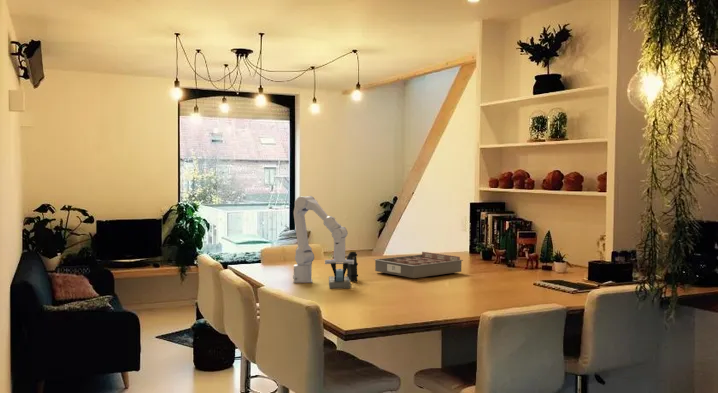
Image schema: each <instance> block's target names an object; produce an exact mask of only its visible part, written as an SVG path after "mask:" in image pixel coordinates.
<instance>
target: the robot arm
mask: <svg viewBox="0 0 718 393" xmlns="http://www.w3.org/2000/svg"><path fill="white" fill-rule="evenodd" d="M308 211H312V212H314V213H315V214H316V215H317V216H318V217H319V218H320V219H321V220H322V221H323V225H324V226H325V227H326V229H328V231H329V232H330V233H331V237H332V238H333V259H324V265H330V266H331V268H332V272H333V276H335V279H336V269H337V265H342V269H343V279H344V276H346V275H345V274H346V271H347V267H348V264H354V260H347V259H346V238H347V236H348V230H347V228H346V227H345V226H342V225H341V223H339V222H338V221H337V220H336V218H335V217H334V216H332V215H330V216H329V215H328V214H327V212H326V211H325V210H324V209H323V207H322V206H321V205H320V204H319V202H318V200H317V199H316V198H315V197H314V196H312V195H308V196H301V195H300V196H298V197H297V198H296V199H295V201H294V208H293V219H294V220H293V221H294V226H295V234H296V240H297V248H296V249H295V255H294V261H295V263H296V264H293V275H292V279H293V283H295V284H296V283H297V284H298V283H308V284H309V283H313V279H312V273H313V272H312V270H313V269H312V268H313V267H312V266H313V262H314V260H315V254H314V252H313V249H312V247H311V246H310V245H309V239H308V231H307V224H306V223H307V222H306V216H305V215H306V214H307V212H308Z"/></svg>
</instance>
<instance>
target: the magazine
mask: <svg viewBox="0 0 718 393" xmlns="http://www.w3.org/2000/svg"><path fill="white" fill-rule="evenodd" d="M357 256H358V253H357V251H350V252H349V254H348V255H347V256H346V257H345V260H354V264H348V267H347V269H346V271H347V273H345V274H346V275H345V276H348V277H349V280H350V282H358V277H359V274H358V264H359V263H358V262H357V258H358V257H357Z"/></svg>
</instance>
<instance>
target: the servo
mask: <svg viewBox="0 0 718 393" xmlns="http://www.w3.org/2000/svg"><path fill="white" fill-rule="evenodd" d="M336 281H343V268H336Z"/></svg>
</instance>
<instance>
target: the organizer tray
mask: <svg viewBox="0 0 718 393" xmlns="http://www.w3.org/2000/svg"><path fill="white" fill-rule="evenodd" d="M373 261H374V262H375V266H374V267H375V268H374V269H375V270H374V271H375V272H377V273H378V272H379V273H384V274H389V275H396V276H401V277H405V278H412V279H416V278H424V277H434V276H439V275H445V274H453V273H460V272H462V261H464V260H463V259H461V256H457V255H449V254H444V253H437V252H436V253H435V252H428V251H422V252H421V254H415V255H414V254H413V255H403V256H396V257H395V256H393V257H385V258H375V259H373Z"/></svg>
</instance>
